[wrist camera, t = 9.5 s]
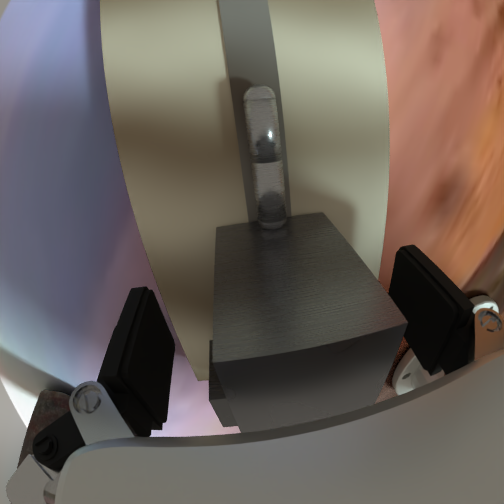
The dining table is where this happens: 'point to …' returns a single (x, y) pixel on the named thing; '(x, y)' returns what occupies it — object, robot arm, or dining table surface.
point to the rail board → (243, 129)
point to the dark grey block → (294, 303)
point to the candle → (44, 417)
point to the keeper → (218, 395)
